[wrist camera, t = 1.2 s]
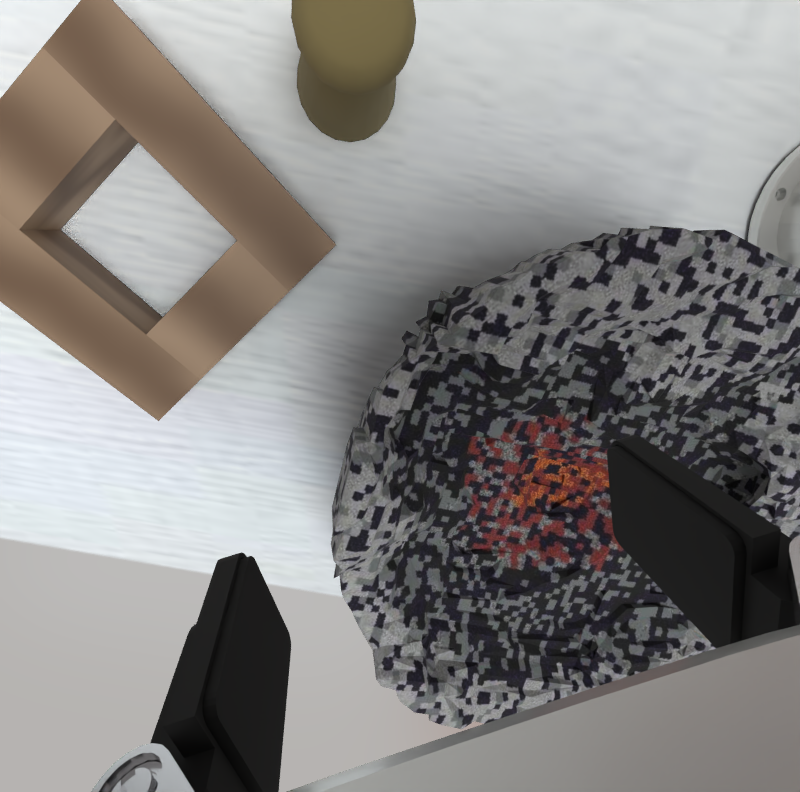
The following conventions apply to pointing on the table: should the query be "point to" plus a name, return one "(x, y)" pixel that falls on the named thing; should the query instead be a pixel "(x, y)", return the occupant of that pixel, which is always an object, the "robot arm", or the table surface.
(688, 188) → the table surface
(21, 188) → the socket block
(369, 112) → the olive-brown rounded peg
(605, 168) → the table surface
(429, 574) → the bowl
